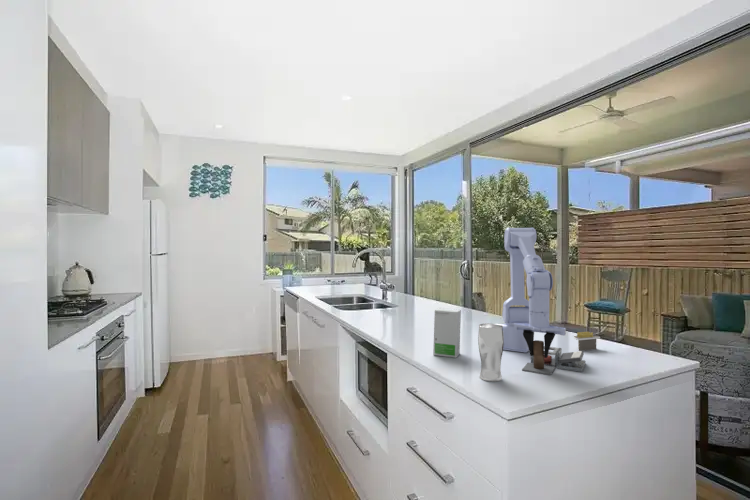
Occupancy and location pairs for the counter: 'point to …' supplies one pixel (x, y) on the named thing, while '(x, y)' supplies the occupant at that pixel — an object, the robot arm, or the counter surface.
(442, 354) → the skincare box
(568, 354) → the rocker
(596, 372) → the counter surface
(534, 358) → the brown cylinder
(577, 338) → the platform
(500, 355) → the beer glass
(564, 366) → the silver metal box
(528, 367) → the mat
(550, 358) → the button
